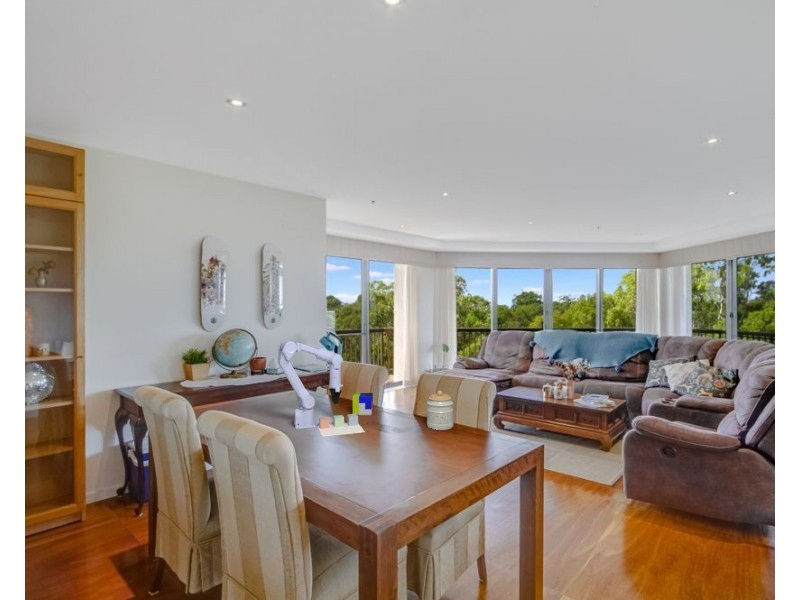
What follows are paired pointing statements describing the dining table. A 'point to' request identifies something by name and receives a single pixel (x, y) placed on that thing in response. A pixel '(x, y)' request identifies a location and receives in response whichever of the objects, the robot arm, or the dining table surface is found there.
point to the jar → (440, 411)
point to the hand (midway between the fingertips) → (335, 403)
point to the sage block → (338, 421)
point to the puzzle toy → (363, 403)
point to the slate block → (352, 419)
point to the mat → (340, 430)
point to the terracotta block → (324, 422)
